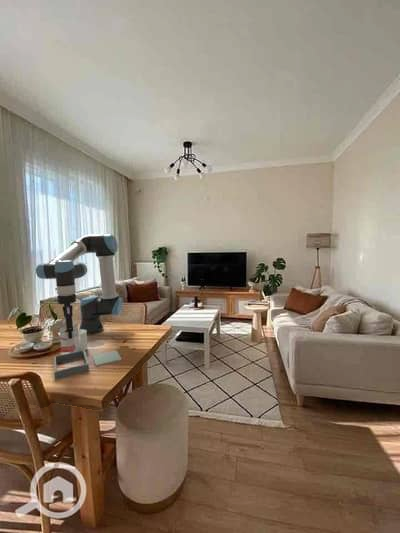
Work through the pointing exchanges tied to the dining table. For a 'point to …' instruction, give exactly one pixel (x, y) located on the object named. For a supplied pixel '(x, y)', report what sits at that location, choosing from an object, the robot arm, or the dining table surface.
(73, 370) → the bin
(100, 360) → the mat
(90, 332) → the robot arm
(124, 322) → the dining table surface
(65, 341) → the ink cartridge box
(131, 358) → the dining table surface
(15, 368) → the dining table surface
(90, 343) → the dining table surface
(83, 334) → the mug
